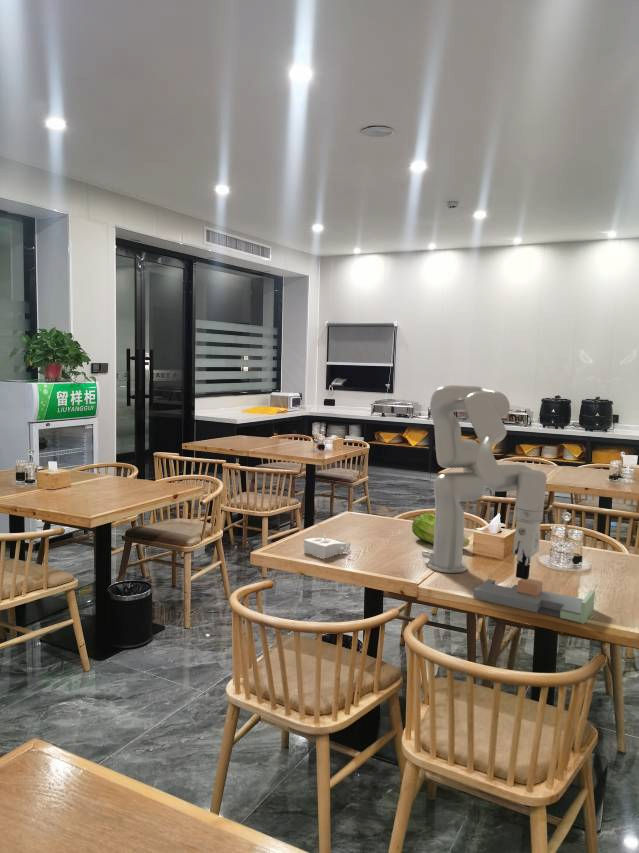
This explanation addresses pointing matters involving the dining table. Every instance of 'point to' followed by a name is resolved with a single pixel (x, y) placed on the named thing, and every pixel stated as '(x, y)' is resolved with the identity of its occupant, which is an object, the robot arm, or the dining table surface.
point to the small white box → (325, 547)
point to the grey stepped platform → (538, 601)
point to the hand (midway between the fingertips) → (522, 577)
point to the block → (529, 586)
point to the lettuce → (428, 528)
